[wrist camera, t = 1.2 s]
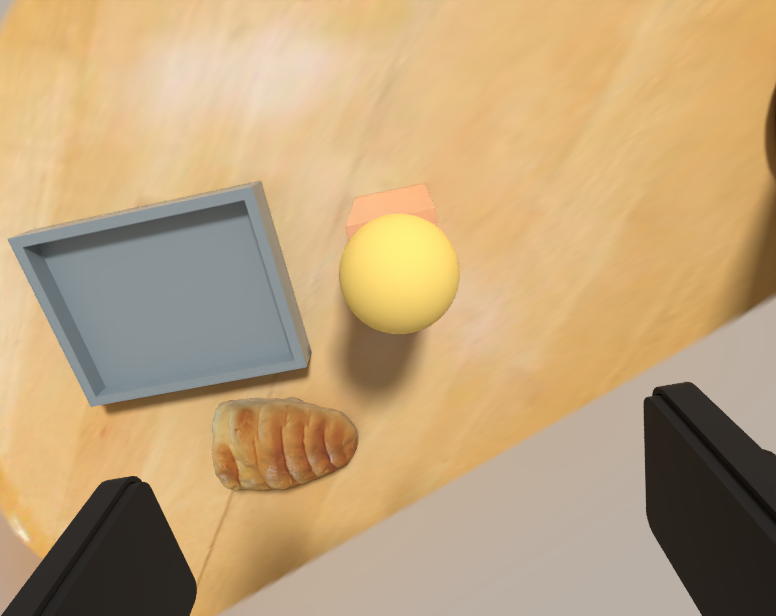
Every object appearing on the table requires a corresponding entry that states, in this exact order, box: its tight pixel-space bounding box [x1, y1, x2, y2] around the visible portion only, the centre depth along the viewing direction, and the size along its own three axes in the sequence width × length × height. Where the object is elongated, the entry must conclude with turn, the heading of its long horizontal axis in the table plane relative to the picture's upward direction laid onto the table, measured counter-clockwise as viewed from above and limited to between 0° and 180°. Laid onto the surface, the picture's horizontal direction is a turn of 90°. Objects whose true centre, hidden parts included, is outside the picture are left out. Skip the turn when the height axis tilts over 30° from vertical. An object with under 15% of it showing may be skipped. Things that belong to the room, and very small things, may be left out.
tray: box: [8, 181, 311, 407], centre depth 31 cm, size 14×11×2 cm
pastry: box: [212, 397, 358, 490], centre depth 34 cm, size 9×7×4 cm
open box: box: [345, 183, 438, 240], centre depth 27 cm, size 4×4×7 cm
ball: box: [339, 214, 460, 334], centre depth 22 cm, size 5×5×5 cm
